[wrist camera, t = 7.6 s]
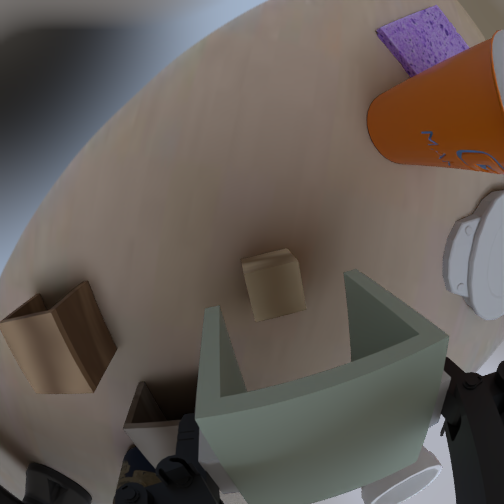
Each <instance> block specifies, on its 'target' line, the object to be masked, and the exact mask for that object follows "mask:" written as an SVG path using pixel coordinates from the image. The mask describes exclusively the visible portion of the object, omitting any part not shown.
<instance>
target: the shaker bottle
mask: <svg viewBox="0 0 504 504" xmlns="http://www.w3.org/2000/svg"><path fill="white" fill-rule="evenodd" d="M367 126H368V130H369V134H370V137H371V140H372V141H373V143H374V145H375V147H376V148H377V149H378V151H379V152H380V153H381V154H382V155H383V156H384V157H386V158H387V159H389V160H390V161H392V162H395V163H398V164H408V165H423V166H436V167H447V168H456V169H459V168H461V169H465V170H474V171H482V172H488V173H495V174H503V175H504V29H503V30H498V31H496V32H495V33H494V35H493V37H492V38H491V39H489V40H486V41H484V42H482V43H480V44H477V45H475V46H473V47H471V48H469V49H466V50H464V51H462V52H460V53H458V54H456V55H454V56H452V57H450V58H448V59H446V60H444V61H442V62H440V63H438V64H436V65H434V66H432V67H430V68H428V69H426V70H424V71H422V72H421V73H419V74H417V75H415V76H413V77H411V78H409V79H408V80H406V81H404V82H402V83H400V84H399V85H397V86H395V87H393V88H391V89H390V90H388V91H386V92H384V93H383V94H381V95H379V96H378V97H377V98H375V99H374V100H373V102H372V104H371V105H370V108H369V110H368V116H367Z"/></svg>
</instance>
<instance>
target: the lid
mask: <svg viewBox="0 0 504 504" xmlns="http://www.w3.org/2000/svg"><path fill="white" fill-rule="evenodd" d="M443 278H444V282H445V286H446V290H448V291H450V292H451V293H454V294H458V295H461V296H463V297H464V299H465V301H466V303H467V305H469V306H470V307H472V308H473V310H474V312H475V314H477V315H478V316H480V317H481V318H483V319H484V320H493V319H497V318H499V317H500V316H502V315H503V314H504V190H501V191H494V192H491V193H490V194H489V195H487V196H486V197H485V198H484V199H483V200H482V201H481V202H480V204H479V205H478V207H477V209H476V210H475V212H474V213H473V214H472V215H470V216H468V217H465V218H463V219H460V220H458V221H456V222H455V224H454V226H453V228H452V230H451V232H450V234H449V236H448V238H447V243H446V247H445V251H444V255H443Z"/></svg>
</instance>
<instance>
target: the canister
mask: <svg viewBox="0 0 504 504" xmlns="http://www.w3.org/2000/svg"><path fill="white" fill-rule="evenodd" d="M129 482H136V483H139V484H141V485H143V486H144V487H146V486H150V485H153V484H157V483H160V482H162V481H161V480H160V479H159V478H158V477H157V476H156V472H155V468H154V467H153V466H152V464H151V463H150V462H149V461H148V460H147V459H146V457H145V456H144V455H143V454H142V453H141V451H140V450H139V449H138V448H137V447H135V448H132V449H130V450H129V451H128V452H127V453H126V455H125V457H124V460H123V464H122V468H121V472H120V476H119V480H118V485H117V489H116V492H117V490H118V489H119V488H120V486H122V485H124V484H125V483H129ZM115 496H116V494H115ZM115 496H114V500H113V504H115Z"/></svg>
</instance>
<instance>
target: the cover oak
mask: <svg viewBox="0 0 504 504" xmlns="http://www.w3.org/2000/svg"><path fill="white" fill-rule="evenodd" d="M197 383H198V382H197ZM196 395H197V392H196ZM195 408H196V403H195ZM180 421H181V420H173V421H167V420H166V418H165V417H164V415H163V413H162V412H161V410H160V408H159V407H158V405H157V403H156V402H155V400H154V398H153V396H152V395H151V393H150V391H149V389H148V387H147V386H146V384H145V382H140V383H138V386H137V389H136V392H135V395H134V398H133V400H132V403H131V406H130V409H129V412H128V415H127V418H126V421H125V424H124V427H123V430H124V431H125V432H126V434H127V435H128V436H129V437H130V439H131V440H132V441H133V443H134V444H135V445H136V446H137V448H138V449H139V450H140V451H141V453H142V454H143V455H144V456H145V457H146V459H147V460H148V461H149V462H150V463H151V464H152V466H153V467H154V468H155V469H156V467H157V464H158V463H159V462H160V461H161V460H162V459H164V458H166V457H168V456H171V455H175V453H176V444H177V435H178V427H179V422H180Z"/></svg>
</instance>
